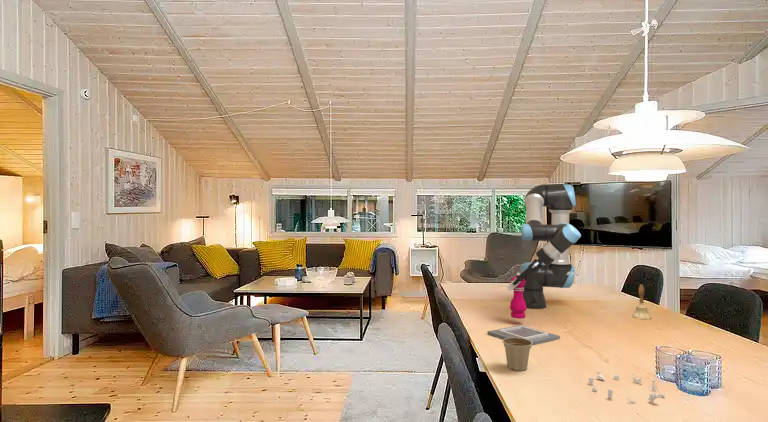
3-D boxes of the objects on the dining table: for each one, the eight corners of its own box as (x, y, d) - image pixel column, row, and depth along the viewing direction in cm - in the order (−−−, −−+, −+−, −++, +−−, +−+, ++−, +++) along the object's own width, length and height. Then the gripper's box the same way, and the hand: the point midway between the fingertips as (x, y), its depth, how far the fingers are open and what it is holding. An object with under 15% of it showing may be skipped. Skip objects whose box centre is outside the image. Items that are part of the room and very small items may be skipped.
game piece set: (681, 405, 125) (681, 390, 125) (609, 407, 124) (610, 392, 124) (636, 378, 144) (636, 366, 144) (574, 379, 143) (574, 367, 143)
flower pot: (516, 374, 146) (516, 347, 145) (496, 365, 154) (496, 339, 154) (538, 370, 150) (538, 343, 150) (517, 361, 158) (517, 336, 158)
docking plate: (487, 334, 192) (487, 329, 192) (520, 327, 203) (520, 323, 203) (526, 346, 175) (526, 341, 175) (559, 338, 186) (560, 333, 186)
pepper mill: (524, 315, 212) (525, 271, 212) (527, 319, 205) (528, 274, 205) (508, 314, 213) (508, 271, 212) (511, 318, 206) (511, 273, 205)
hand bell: (632, 318, 222) (633, 285, 222) (630, 314, 230) (631, 282, 229) (652, 320, 219) (653, 286, 219) (650, 316, 226) (650, 283, 226)
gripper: (551, 262, 193) (511, 298, 201) (557, 257, 210) (520, 290, 218) (538, 249, 195) (499, 284, 203) (545, 245, 212) (508, 278, 220)
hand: (510, 287), depth 210 cm, fingers closed on pepper mill, 6 cm apart
